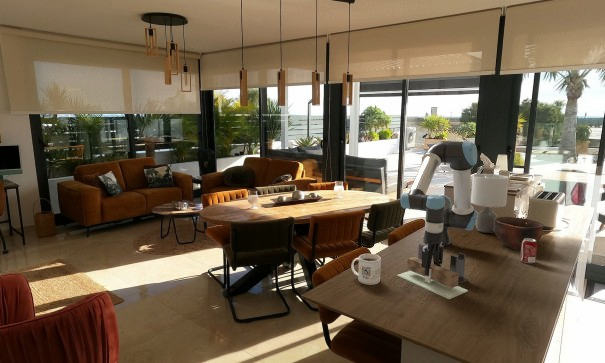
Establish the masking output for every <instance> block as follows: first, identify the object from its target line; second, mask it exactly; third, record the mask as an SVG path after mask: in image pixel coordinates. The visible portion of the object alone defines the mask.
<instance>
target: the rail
mask: <svg viewBox="0 0 605 363" xmlns="http://www.w3.org/2000/svg"><path fill="white" fill-rule="evenodd" d="M421 265H422V260H421V259H419V258H418V257H416V256H412V257H408V258H407V270H408V271H413V272H415V273H417V274H420V275H422V276H424V277H425V268H422V267H421ZM430 269H431V280H434V281H436V282H439V283H441V284H443V285H446V286H448V287H450V288H454V287H456V286H459V284H458V277H459V274H458V273H456V272H453V271H450V269H447V268H445V267H442V266H441V267H440V266H437V265H435V264H434V263H432V262H431V267H430Z"/></svg>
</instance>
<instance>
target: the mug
mask: <svg viewBox="0 0 605 363" xmlns="http://www.w3.org/2000/svg"><path fill="white" fill-rule="evenodd" d="M356 261H358V272H357V271H356V270H355V267H354V266H355V265H354V264H355V262H356ZM381 262H382V258H381V256H379V255H378V254H374V253H363V254H360V255H359V256H358V257H356V258H354V259H353V260H352V262H351V265H350V266H351V271H352V273H353V274H354V275H356V277H358V278H357V279H358V282H360V283H361V284H363V285H370V286H371V285H373V286H374V285H377V284H379V283H380V282H381V267H382V266H381V264H382V263H381Z"/></svg>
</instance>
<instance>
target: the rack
mask: <svg viewBox="0 0 605 363" xmlns="http://www.w3.org/2000/svg"><path fill="white" fill-rule="evenodd" d="M424 246H425V244H424V245H423V244H421V243H420V244H419V243H418V255H417V258H419V259H421V260H422V250H421V247H424ZM429 252H430V251H429ZM449 260H450V262H449V263H450V264H449V270H450V271H453V272H456V273H458V274H459V277H458V285H460V284H463V283H466V282H468V281H469V279H468V278H466V277H465V267H466V266H465V264H466V254H465V253H462V252H458V255H457V256H455V255H453V254H451V255H450V259H449Z"/></svg>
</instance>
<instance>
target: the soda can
mask: <svg viewBox="0 0 605 363" xmlns="http://www.w3.org/2000/svg"><path fill="white" fill-rule="evenodd" d="M537 250H538V242H536V240H535V239H532V238H524V240H523V241H522V248H521V250H520V258H519V259H520V261H521V262H522V263H525V264H528V265H531V264H535V263H536V260H537V259H536V258H537Z"/></svg>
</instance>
